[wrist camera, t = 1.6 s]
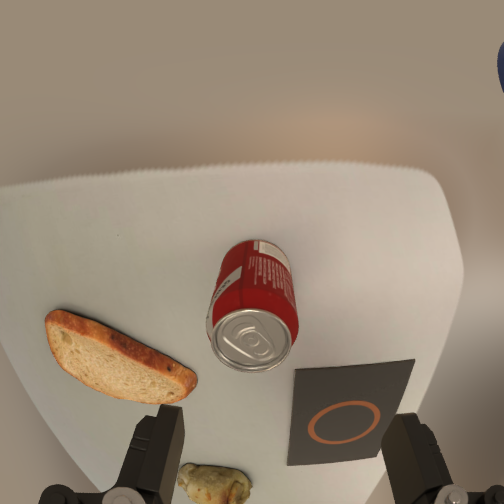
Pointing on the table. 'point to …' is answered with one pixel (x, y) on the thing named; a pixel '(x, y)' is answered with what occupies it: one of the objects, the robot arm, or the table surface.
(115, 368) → the slice of bread
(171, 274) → the table surface
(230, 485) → the pastry
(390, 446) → the robot arm
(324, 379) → the hob mat
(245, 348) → the soda can
